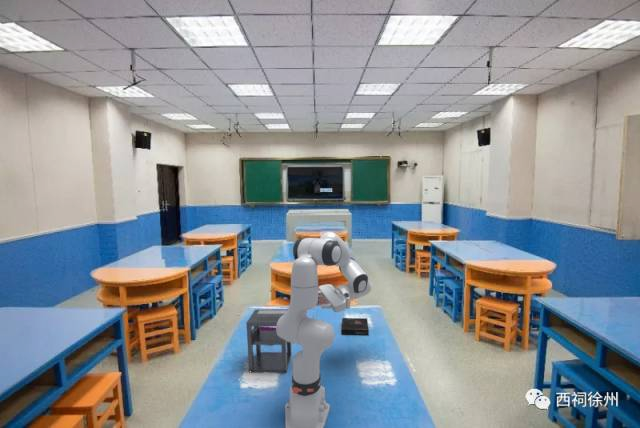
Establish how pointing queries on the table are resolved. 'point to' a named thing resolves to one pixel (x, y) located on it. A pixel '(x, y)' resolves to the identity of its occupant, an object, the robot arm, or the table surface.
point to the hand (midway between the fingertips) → (317, 301)
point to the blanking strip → (271, 313)
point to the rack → (266, 360)
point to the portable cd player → (355, 326)
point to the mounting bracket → (267, 328)
